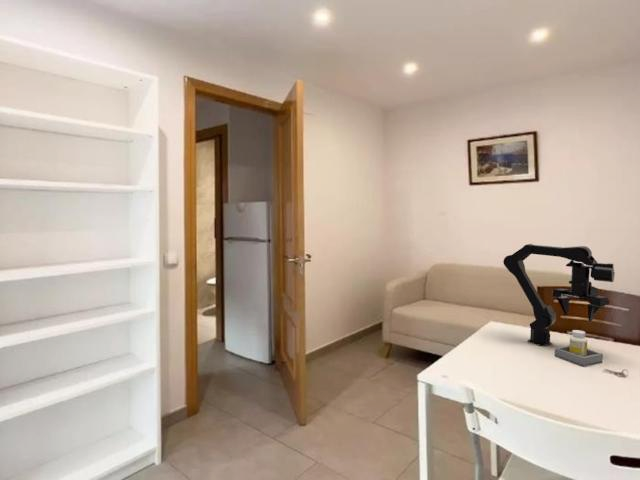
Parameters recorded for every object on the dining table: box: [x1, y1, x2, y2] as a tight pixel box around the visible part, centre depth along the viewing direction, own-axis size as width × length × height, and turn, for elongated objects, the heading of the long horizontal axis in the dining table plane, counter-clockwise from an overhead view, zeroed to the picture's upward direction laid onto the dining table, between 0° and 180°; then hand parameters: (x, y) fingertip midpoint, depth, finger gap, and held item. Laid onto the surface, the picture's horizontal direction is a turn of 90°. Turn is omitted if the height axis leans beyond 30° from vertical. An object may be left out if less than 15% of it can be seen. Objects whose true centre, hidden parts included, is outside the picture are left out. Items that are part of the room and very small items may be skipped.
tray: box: [554, 344, 604, 367], centre depth 142 cm, size 11×11×3 cm
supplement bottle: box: [569, 329, 588, 357], centre depth 142 cm, size 5×5×10 cm
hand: (578, 318), depth 149 cm, fingers open, 9 cm apart
